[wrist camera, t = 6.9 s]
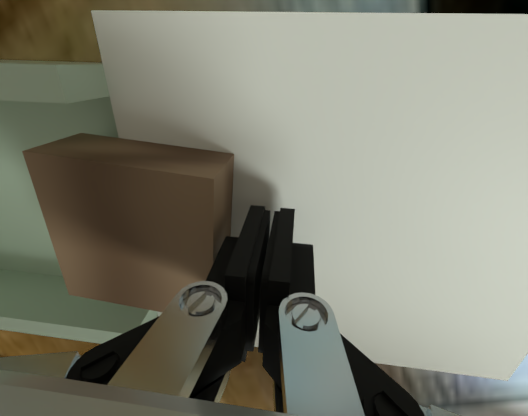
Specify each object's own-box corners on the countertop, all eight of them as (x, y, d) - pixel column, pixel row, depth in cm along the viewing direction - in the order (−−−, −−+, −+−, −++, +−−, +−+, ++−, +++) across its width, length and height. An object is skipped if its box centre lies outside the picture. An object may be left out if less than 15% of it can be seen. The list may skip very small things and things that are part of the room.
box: (147, 63, 12) (56, 65, 8) (179, 277, 18) (137, 348, 13) (-110, 56, 13) (-315, 53, 9) (-4, 256, 19) (-97, 315, 15)
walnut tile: (234, 153, 10) (213, 178, 8) (228, 277, 13) (212, 321, 11) (80, 132, 11) (22, 151, 8) (107, 256, 13) (69, 294, 11)
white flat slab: (642, 29, 9) (773, 16, 7) (475, 329, 16) (507, 380, 14) (140, 22, 11) (90, 10, 9) (182, 295, 18) (161, 334, 16)
